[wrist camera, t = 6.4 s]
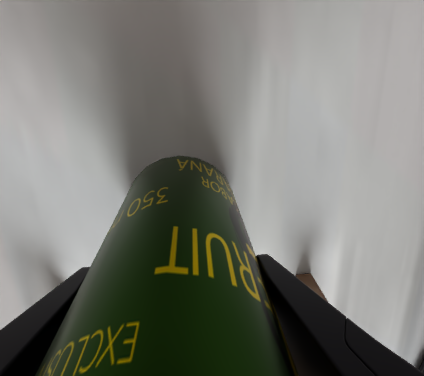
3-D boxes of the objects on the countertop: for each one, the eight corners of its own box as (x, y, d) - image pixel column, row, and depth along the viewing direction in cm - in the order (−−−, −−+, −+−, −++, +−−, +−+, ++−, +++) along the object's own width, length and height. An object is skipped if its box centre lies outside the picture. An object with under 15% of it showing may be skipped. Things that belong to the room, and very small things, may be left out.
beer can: (194, 256, 16) (205, 673, 5) (112, 211, 14) (-150, 684, 3) (251, 188, 14) (457, 570, 3) (167, 129, 13) (24, 494, 2)
